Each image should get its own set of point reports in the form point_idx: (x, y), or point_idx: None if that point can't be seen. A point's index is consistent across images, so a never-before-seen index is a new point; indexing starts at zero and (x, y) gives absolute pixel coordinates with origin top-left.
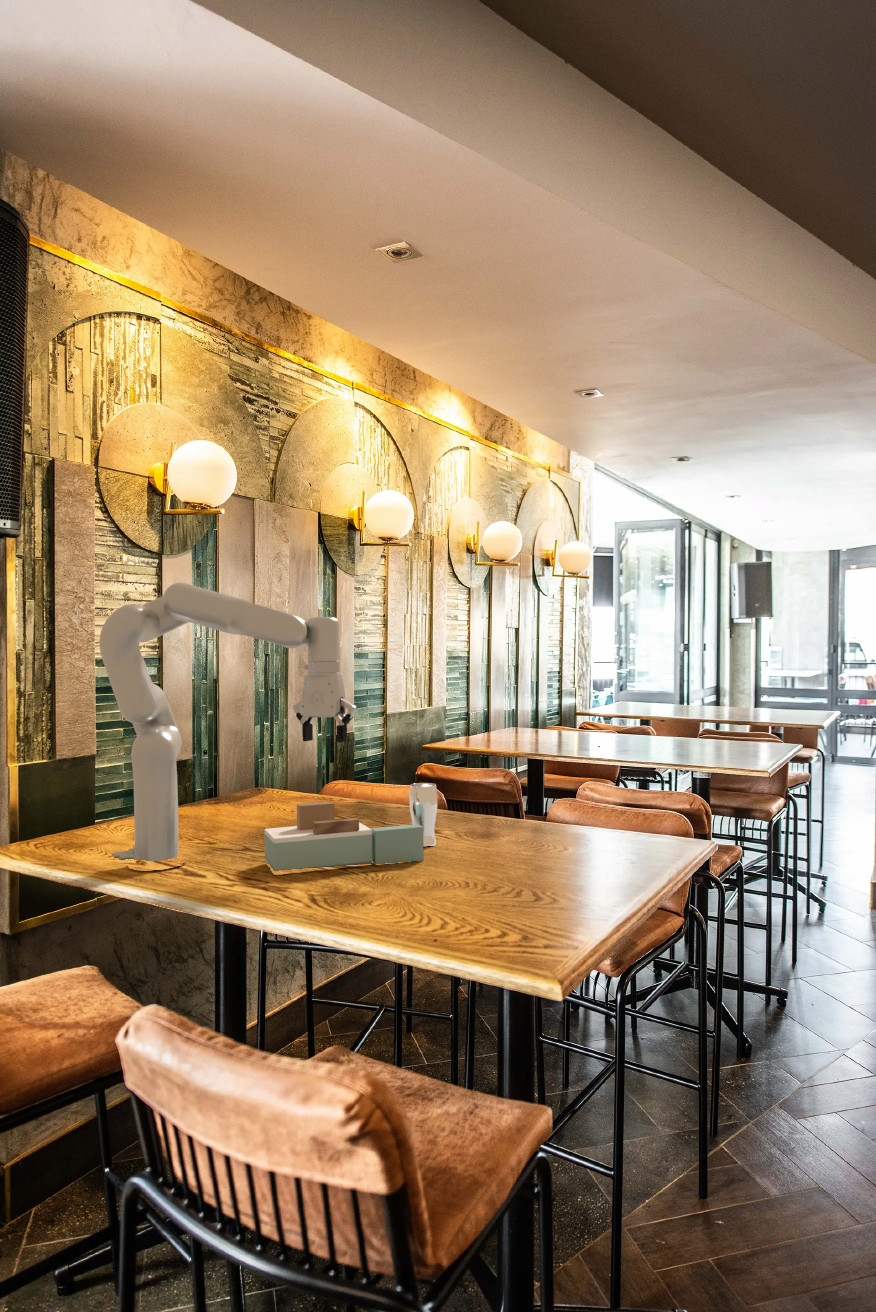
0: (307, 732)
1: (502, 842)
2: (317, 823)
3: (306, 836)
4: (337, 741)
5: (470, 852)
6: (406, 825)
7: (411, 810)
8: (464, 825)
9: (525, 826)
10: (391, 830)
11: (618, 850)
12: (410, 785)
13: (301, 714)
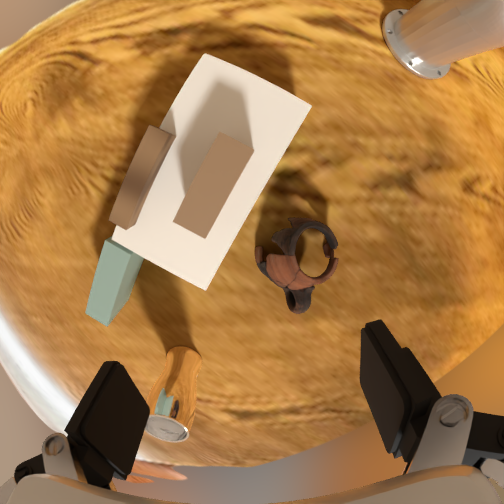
0: (379, 380)
1: None
2: (147, 130)
3: (168, 111)
4: (111, 361)
5: (109, 351)
6: (109, 309)
7: (178, 384)
8: (233, 441)
9: (176, 452)
10: (97, 266)
11: (51, 398)
12: (175, 421)
13: (489, 461)
